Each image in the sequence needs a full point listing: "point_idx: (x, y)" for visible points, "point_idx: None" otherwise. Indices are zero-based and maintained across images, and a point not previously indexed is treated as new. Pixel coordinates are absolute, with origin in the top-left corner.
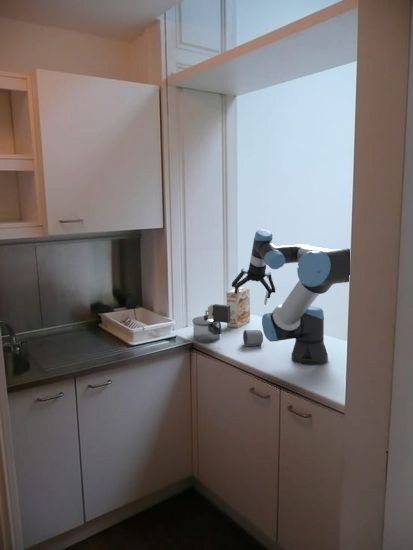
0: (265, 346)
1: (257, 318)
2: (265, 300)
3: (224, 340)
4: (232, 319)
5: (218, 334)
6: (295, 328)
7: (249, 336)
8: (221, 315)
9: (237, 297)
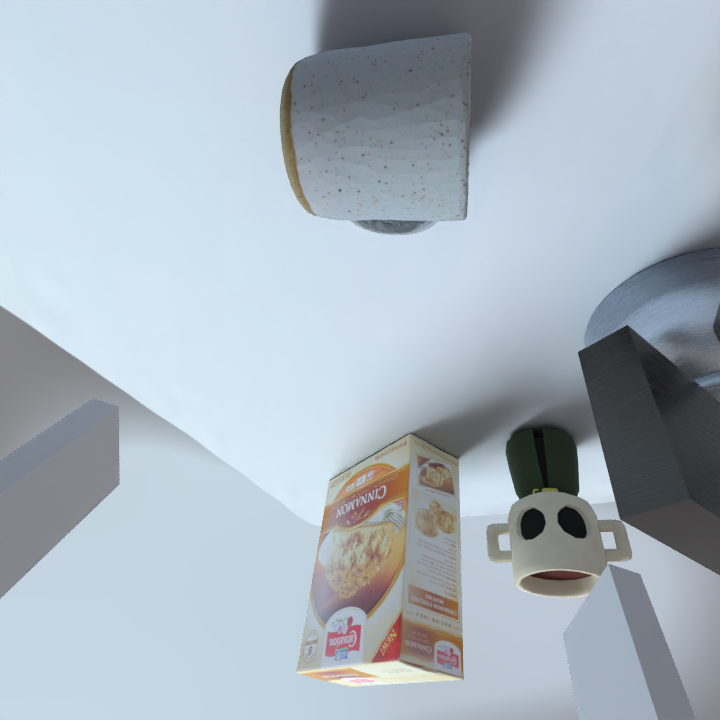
0: (280, 37)
1: (290, 496)
2: (44, 457)
3: (579, 273)
4: (433, 485)
5: (631, 316)
6: None
7: (442, 64)
8: (698, 424)
9: (638, 635)
